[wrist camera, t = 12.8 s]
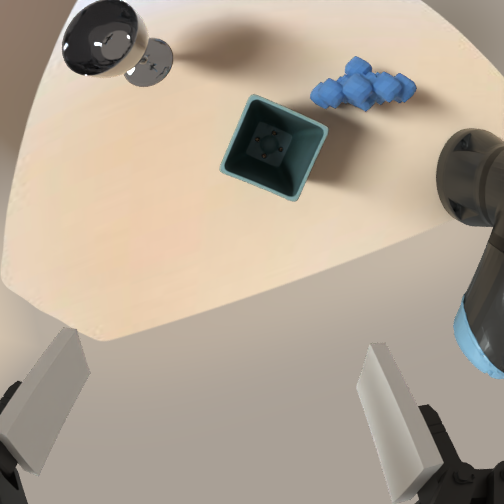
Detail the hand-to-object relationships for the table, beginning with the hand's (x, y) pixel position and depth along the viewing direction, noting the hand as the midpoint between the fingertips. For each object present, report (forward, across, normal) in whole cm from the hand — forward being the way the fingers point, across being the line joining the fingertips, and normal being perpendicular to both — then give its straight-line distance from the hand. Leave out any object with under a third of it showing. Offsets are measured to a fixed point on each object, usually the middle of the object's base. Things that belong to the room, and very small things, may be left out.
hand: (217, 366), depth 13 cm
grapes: (+31, -13, -16) cm, 38 cm away
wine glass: (+31, +13, -19) cm, 39 cm away
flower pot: (+31, -3, -8) cm, 33 cm away
